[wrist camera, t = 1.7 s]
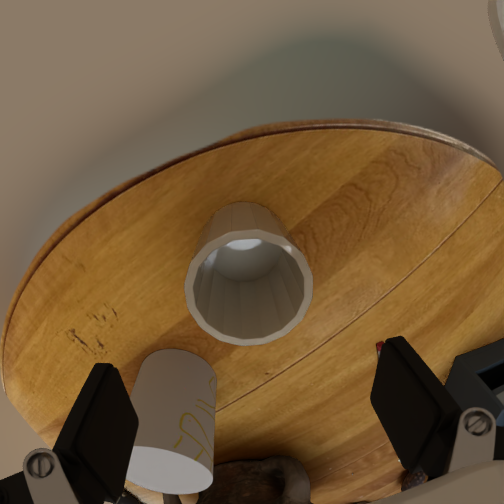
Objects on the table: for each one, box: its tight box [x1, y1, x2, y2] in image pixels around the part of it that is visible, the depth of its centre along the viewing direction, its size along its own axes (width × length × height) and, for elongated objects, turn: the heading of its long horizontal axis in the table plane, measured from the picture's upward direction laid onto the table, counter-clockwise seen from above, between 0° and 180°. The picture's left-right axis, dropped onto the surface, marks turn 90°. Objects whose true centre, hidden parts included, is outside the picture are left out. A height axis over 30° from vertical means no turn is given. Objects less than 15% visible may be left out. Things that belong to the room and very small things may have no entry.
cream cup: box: [184, 202, 313, 346], centre depth 21 cm, size 7×7×9 cm
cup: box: [126, 349, 217, 494], centre depth 23 cm, size 8×8×12 cm
